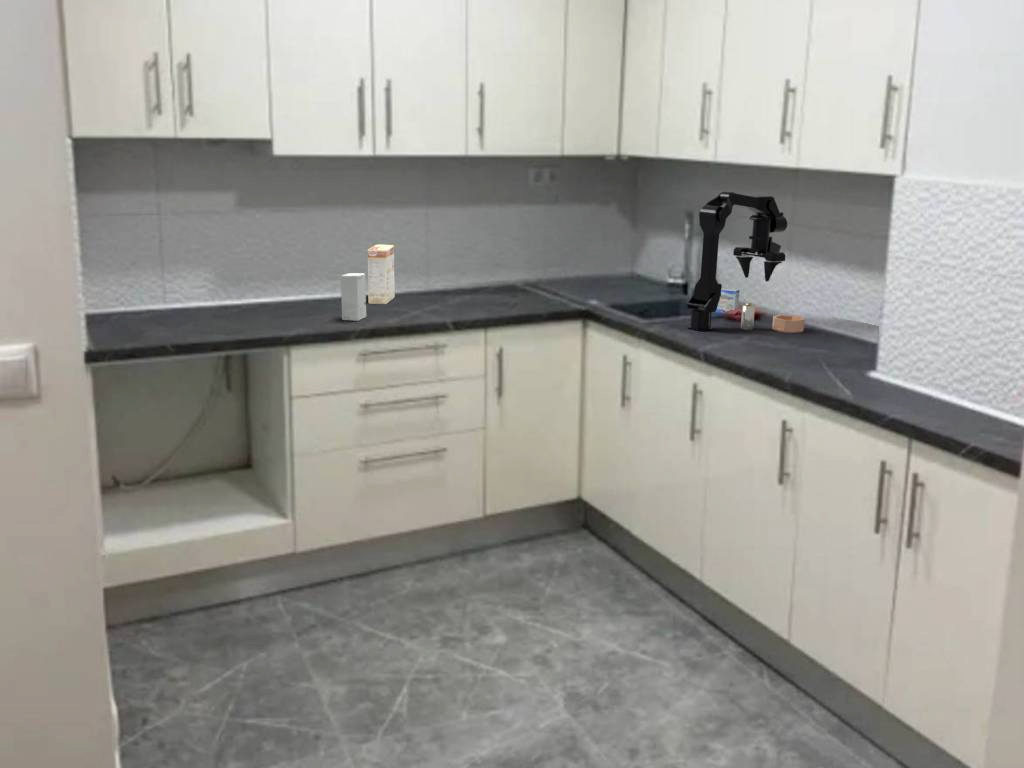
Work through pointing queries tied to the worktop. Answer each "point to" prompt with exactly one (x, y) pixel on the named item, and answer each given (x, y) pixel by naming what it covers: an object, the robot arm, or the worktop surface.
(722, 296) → the medicine box
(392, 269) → the coffeecake box
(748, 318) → the battery cell
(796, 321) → the cup
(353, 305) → the skincare box
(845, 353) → the worktop surface
